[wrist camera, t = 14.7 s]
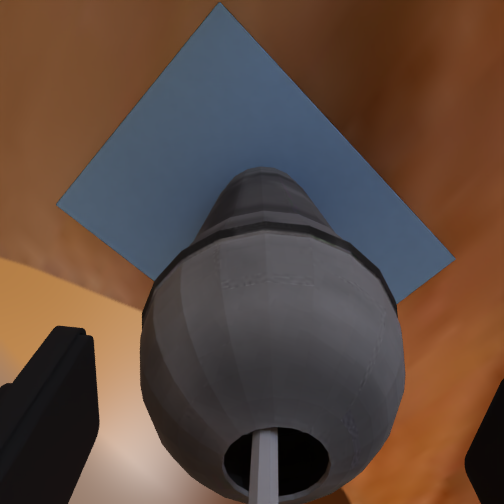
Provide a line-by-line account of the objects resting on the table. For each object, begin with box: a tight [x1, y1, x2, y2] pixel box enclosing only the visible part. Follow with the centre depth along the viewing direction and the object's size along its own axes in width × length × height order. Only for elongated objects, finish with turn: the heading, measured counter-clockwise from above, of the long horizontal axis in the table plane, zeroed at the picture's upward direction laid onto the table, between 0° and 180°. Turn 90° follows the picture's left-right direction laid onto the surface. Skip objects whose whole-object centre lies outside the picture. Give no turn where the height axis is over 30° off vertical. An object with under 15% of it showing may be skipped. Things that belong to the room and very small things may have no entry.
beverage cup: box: [140, 166, 405, 504], centre depth 13 cm, size 7×7×20 cm
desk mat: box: [56, 2, 455, 304], centre depth 23 cm, size 18×13×1 cm
